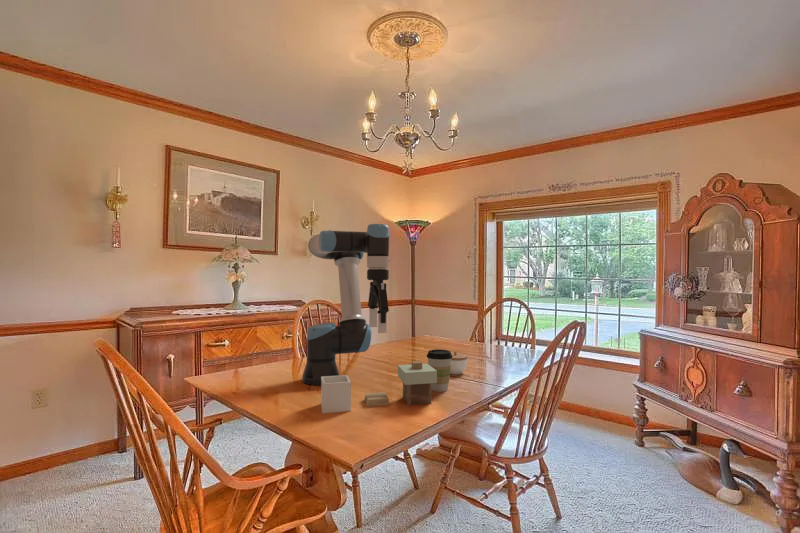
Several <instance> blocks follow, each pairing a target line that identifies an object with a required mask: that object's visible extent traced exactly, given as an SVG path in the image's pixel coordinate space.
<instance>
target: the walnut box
mask: <svg viewBox="0 0 800 533" xmlns="http://www.w3.org/2000/svg"><path fill="white" fill-rule="evenodd" d="M402 399H403V400H404V401H405V403H406V404H407V405H408V406H413V405H414V406H415V405H425V404H426V405H427V404H432V390H431V383H428V384H412V385H405V384H404V383H403V382H402Z"/></svg>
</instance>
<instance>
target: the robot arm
mask: <svg viewBox="0 0 800 533" xmlns="http://www.w3.org/2000/svg"><path fill="white" fill-rule="evenodd" d="M389 228H390V227H389V225H388V224H385V223H370V224H368V225H367V230H366V231H344V230H331V229H330V230H329V229H328V230H321V231H320V233H318V234H315V235H313V236H312V237H311V238H310V239H309V241H308V244H307V246H308V250H309V252H310V253H311V255H312V256H315V257H316V258H320V259H323V260H333V262H334V265H335V266H337V270H338V281H339V282H338V284H339V295H340V296H339V297H340V298H339V299H340V309H341V310H340V311H341V319H340V320H339V322H338V325H336V322H321V323H316V324H313V325H311V326H309V327H308V329H307V331H306V338H305V339H306V364H305V368H304V370H303V374H302V379H301V380H302V381H303V382H304V383H303V382H302V383H303V384H305V383H306V384H305V385H309V384H311V386H321V377H323V376H341V375H340V372H339V367H338V366H337V362H336V355H342V354H343V355H344V354H354V353H356V354H358V353H366V352H367V351H368V350H369V348H370V346H371V342H372V328H377V333H378V334H387V332H388V330H387V329H388V328H387V327H388V326H387V322H388V321H387V319H388V317H387V316H388V312H389V311H390V309H389V303H388V302H389V301H388V300H389V299H388V292H387V283H386V282H385V283H384V281H388V280H389V276H390V275H389V271H390V270H389V269H388V268H389V265H390V264H389V263H390V262H391V259H390V258H389V256H390V255H389V254H390V253H389V252H390V230H389ZM364 253H365V254H366V255H367V256H366V268H368V269H367V270H366V279H367V280H368V281H370V282H369V293H368V304H367V306H368V310H369V315H368V316H369V319H368V320H369V321H368V322H369V324H368V323H367V321H366V320H367V319H366V318H364V317H363V315H362V314H363V313H362V305H361V302H362V301H361V295H360V283H359V282H360V280H359V272H358V270H359V269H358V266H359V264H360V263H361V260H362V259H363V257H364Z"/></svg>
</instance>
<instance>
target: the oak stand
mask: <svg viewBox="0 0 800 533" xmlns="http://www.w3.org/2000/svg"><path fill="white" fill-rule="evenodd" d="M364 401H365V404H366V406H367V407H368V408H369V407H380V406H389V403H390V402H389V396H388V395H387V393H386V392H385V391H384V392H383V391H382V392H370V393H369V392H368V393H364Z"/></svg>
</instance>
